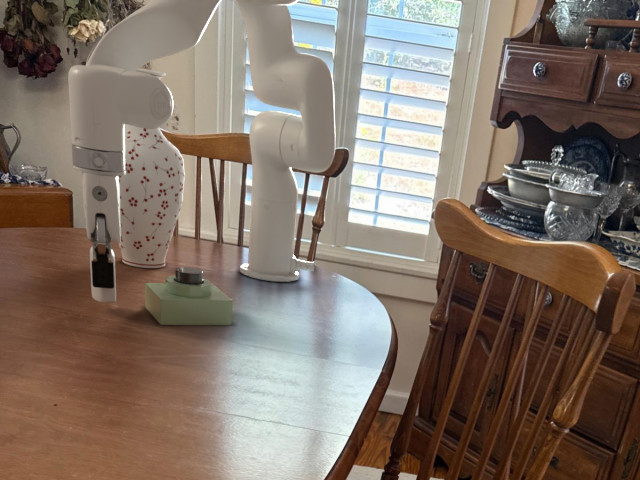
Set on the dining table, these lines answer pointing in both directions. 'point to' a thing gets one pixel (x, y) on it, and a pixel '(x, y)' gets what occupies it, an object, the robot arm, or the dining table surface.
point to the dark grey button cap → (188, 275)
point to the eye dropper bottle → (103, 293)
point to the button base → (188, 303)
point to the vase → (149, 194)
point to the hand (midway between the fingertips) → (103, 281)
